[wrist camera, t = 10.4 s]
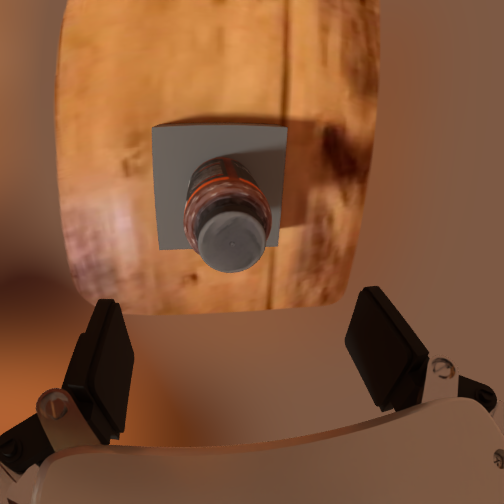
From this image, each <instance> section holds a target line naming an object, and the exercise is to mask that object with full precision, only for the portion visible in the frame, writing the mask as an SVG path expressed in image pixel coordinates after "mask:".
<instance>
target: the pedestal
mask: <svg viewBox="0 0 504 504" xmlns="http://www.w3.org/2000/svg"><path fill="white" fill-rule="evenodd" d="M287 129H288V128H287V127H284V126H281V125H277V124H258V123H180V124H161V125H157V126H154V127H152V154H153V177H154V194H155V208H156V220H157V231H158V241H159V250H173V249H193V248H192V247H191V245H190V244H189V242H188V240H187V237H186V235H185V232H184V225H183V219H184V211H185V204H186V198H187V191H188V185H189V181H190V178H191V176H192V174H193V173H194V171H195V170H196V168H198V167H199V166H200V165H201V164H202V163H204V162H206V161H208V160H210V159H213V158H218V157H224V158H230V159H233V160H236V161H238V162H240V163H241V164H242V165H243V166H245V167H246V168H247V169H248V171H249V172H250V174H251V175H252V177H253V178H254V180H255V181H256V183H257V184H258V186H259V188H260V189H261V191H262V193H263V194H264V196H265V198H266V200H267V201H268V204H269V206H270V209H271V214H272V228H271V231H270V235H269V237H268V239H267V241H266V247H274V246H278V239H279V228H280V217H281V206H282V194H283V182H284V169H285V156H286V143H287Z"/></svg>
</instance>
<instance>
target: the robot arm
mask: <svg viewBox="0 0 504 504" xmlns="http://www.w3.org/2000/svg"><path fill="white" fill-rule="evenodd" d="M345 345H346V348H347V350H348V351H349V354H350V355H351V357H352V359H353V361H354V363H355V365H356V367H357V369H358V371H359V373H360V375H361V377H362V379H363V381H364V383H365V385H366V387H367V389H368V391H369V393H370V395H371V397H372V399H373V401H374V403H375V405H376V406H379V407H380V409H381V411H382V412H384V411H388V410H391V409H393V408H394V409H395V411H396V412H395V413H392V414H388V415H385V416H382V417H379V418H375V419H372V420H369V421H365V422H362V423H358V424H354V425H350V426H346V427H342V428H338V429H334V430H330V431H325V432H321V433H316V434H311V435H305V436H300V437H294V438H289V439H282V440H275V441H268V442H260V443H251V444H241V445H230V446H213V447H141V446H120V445H109V444H110V439H117V440H119V435H120V433H123V432H124V429H125V420H126V412H127V404H128V396H129V390H130V383H131V377H132V370H133V364H134V352H133V349H132V346H131V342H130V339H129V336H128V333H127V329H126V326H125V322H124V319H123V315H122V312H121V308H120V305H119V303H115V301H114V299H99V300H98V302H97V304H96V306H95V309H94V312H93V314H92V316H91V319H90V322H89V324H88V327H87V330H86V332H85V333H82V334H81V335H80V336H79V339H78V341H77V344H76V347H75V349H74V352H73V355H72V358H71V361H70V363H69V366H68V369H67V372H66V375H65V379H64V382H63V385H62V388H61V389H59V388H54V389H53V388H52V389H49V390H47V391H45V392H44V393H42V395H41V396H40V397H39V398H38V401H37V403H36V411H37V413H36V414H34V415H32V416H31V417H29V418H28V419H26V420H25V421H23V422H21V423H19V424H18V425H16V426H15V427H13V428H11V429H10V430H8V431H6V432H5V433H3V434H2V435H1V436H0V504H30V503H31V504H504V403H503V402H502V401H501V400H499V401H498V402H497V397H496V395H495V393H494V391H493V390H492V389H491V388H490V387H489V386H487V385H485V384H482V383H479V382H476V381H474V380H471V379H468V378H465V377H463V376H460V375H459V372H458V367H457V365H456V364H455V363H454V362H453V360H451V359H450V358H449V357H446V356H444V355H435V356H433V357H431V358H429V357H428V354H429V352H428V350H427V349H426V347H425V346H424V345H423V343H422V342H421V341H420V339H419V338H418V337H417V335H416V334H415V333H414V331H413V330H412V329H411V327H410V326H409V325H408V323H407V322H406V321H405V319H404V318H403V317H402V315H401V314H400V313H399V311H398V310H397V309H396V308H395V306H394V305H393V304H392V303H391V301H390V300H389V299H388V297H387V296H386V295H385V294H384V292H383V291H382V290H381V289H380V288H379V287H378V286H370V287H365V288H364V289H363V290H362V291H360V293H359V296H358V299H357V302H356V306H355V309H354V312H353V315H352V319H351V321H350V325H349V328H348V331H347V334H346V337H345Z"/></svg>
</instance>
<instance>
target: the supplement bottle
mask: <svg viewBox="0 0 504 504" xmlns="http://www.w3.org/2000/svg"><path fill="white" fill-rule="evenodd" d="M183 225H184V232H185V235H186V237H187V240H188V242H189V244H190V245H191V247H192V248H193V249H194V251H195V252H197V253H198V254H199V255H200V256H201V257H202V259H203V260H204V262H205V263H206V264H208V265H209V266H210V267H212V268H213V269H215V270H218V271H221V272H226V273H233V272H240V271H243V270H246V269H248V268H250V267H251V266H253V265H254V264H255V263H256V262H257V261H258V260H259V259H260V258H261V256H262V254H263V253H264V250H265V247H266V241H267V239H268V237H269V235H270V231H271V228H272V214H271V209H270V206H269V204H268V201H267V200H266V198H265V196H264V194H263V193H262V191H261V189H260V188H259V186H258V184H257V183H256V181H255V180H254V178H253V177H252V175H251V174H250V172H249V171H248V169H247V168H246V167H245V166H243V165H242V164H241V163H240V162H238V161H236V160H233V159H230V158H224V157H218V158H213V159H210V160H208V161H206V162H204V163H202V164H201V165H200V166H199V167H198V168H196V170H195V171H194V173H193V174H192V176H191V178H190V181H189V185H188V191H187V198H186V204H185V211H184V219H183Z"/></svg>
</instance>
